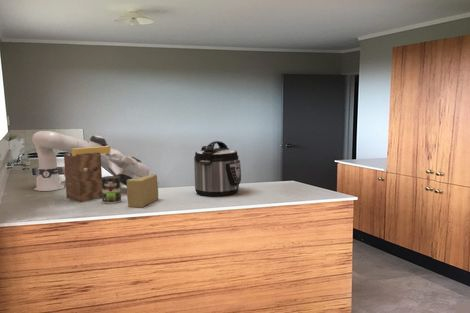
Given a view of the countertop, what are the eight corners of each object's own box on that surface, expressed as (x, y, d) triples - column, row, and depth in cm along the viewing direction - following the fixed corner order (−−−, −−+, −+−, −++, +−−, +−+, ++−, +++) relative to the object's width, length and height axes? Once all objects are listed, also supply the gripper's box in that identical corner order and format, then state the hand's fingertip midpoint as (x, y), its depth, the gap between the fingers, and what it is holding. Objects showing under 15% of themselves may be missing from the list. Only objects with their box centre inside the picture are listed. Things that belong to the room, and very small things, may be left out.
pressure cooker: (207, 199, 250) (206, 143, 246) (185, 192, 273) (183, 141, 270) (251, 193, 266) (250, 141, 263) (225, 187, 289) (224, 139, 286)
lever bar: (107, 152, 268) (106, 146, 268) (110, 153, 265) (110, 146, 265) (72, 155, 253) (71, 148, 252) (75, 156, 250) (74, 149, 250)
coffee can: (120, 203, 246) (119, 177, 244) (101, 204, 244) (100, 178, 242) (121, 199, 256) (120, 175, 254) (103, 200, 254) (102, 176, 252)
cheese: (150, 198, 256) (149, 173, 254) (164, 199, 252) (163, 173, 250) (126, 206, 235) (125, 179, 234) (142, 208, 232) (141, 179, 230)
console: (88, 194, 273) (86, 151, 270) (103, 198, 259) (101, 152, 257) (66, 198, 263) (63, 153, 260) (81, 202, 250) (78, 154, 247)
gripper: (134, 169, 267) (116, 159, 258) (117, 166, 282) (99, 157, 273) (138, 160, 269) (120, 150, 260) (121, 157, 283) (103, 148, 274)
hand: (109, 153), depth 266 cm, fingers open, 8 cm apart
